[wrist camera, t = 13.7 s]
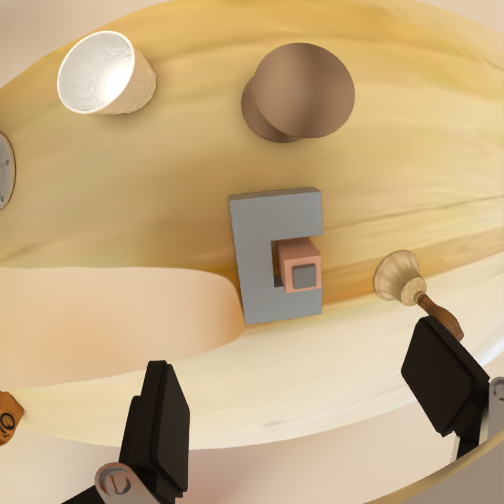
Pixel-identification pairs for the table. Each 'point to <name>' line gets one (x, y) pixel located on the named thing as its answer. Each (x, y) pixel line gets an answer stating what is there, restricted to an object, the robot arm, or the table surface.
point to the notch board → (260, 255)
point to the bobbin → (298, 94)
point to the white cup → (105, 76)
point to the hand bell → (410, 288)
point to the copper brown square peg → (298, 264)
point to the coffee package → (8, 416)
